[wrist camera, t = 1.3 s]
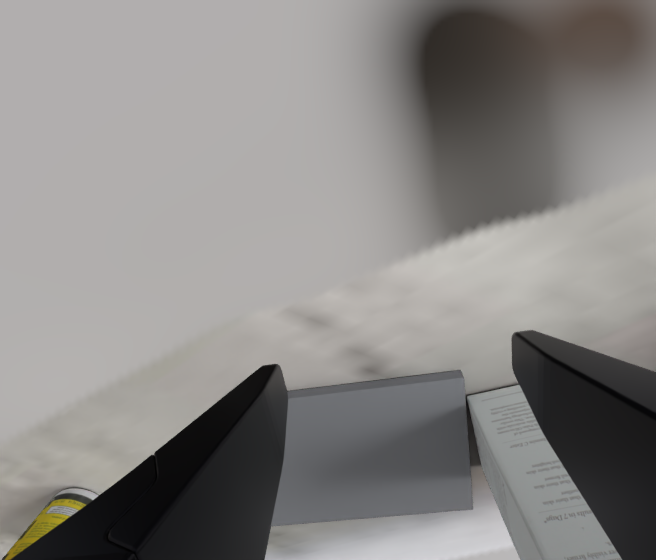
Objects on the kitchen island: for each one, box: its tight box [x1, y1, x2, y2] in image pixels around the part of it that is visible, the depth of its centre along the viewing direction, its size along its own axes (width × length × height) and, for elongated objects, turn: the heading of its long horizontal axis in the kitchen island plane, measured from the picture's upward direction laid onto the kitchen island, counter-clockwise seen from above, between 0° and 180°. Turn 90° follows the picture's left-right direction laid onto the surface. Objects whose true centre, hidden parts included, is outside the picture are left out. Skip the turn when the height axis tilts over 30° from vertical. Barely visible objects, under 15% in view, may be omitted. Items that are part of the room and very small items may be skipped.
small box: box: [467, 385, 622, 560], centre depth 19 cm, size 8×6×13 cm
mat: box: [271, 370, 473, 526], centre depth 26 cm, size 15×11×1 cm
